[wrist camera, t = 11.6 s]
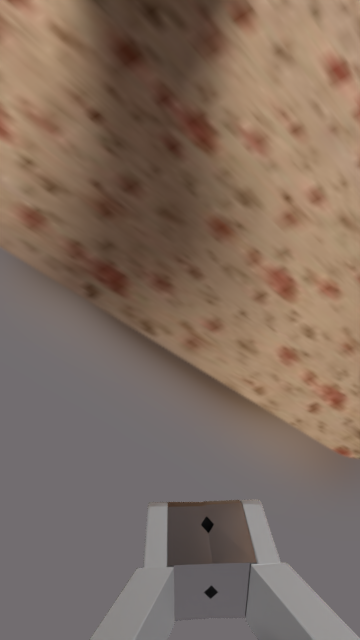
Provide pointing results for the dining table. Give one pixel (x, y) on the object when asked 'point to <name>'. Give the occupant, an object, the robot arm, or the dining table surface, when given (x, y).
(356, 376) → the dining table surface
